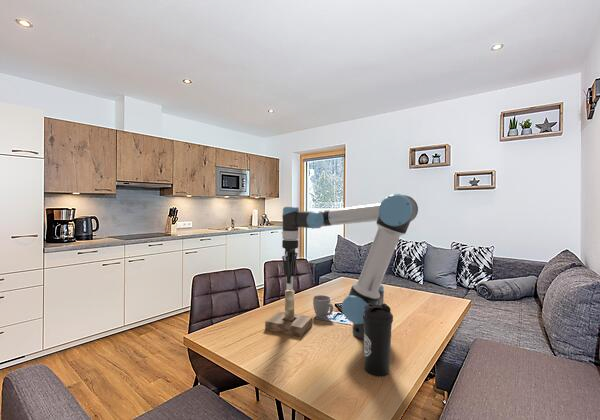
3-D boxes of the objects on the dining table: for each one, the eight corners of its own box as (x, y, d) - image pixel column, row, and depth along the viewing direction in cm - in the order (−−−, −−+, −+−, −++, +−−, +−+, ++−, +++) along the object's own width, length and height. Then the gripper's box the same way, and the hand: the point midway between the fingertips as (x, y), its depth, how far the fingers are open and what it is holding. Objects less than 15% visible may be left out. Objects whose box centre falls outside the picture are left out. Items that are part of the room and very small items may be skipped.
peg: (295, 324, 143) (296, 290, 142) (291, 327, 138) (292, 292, 138) (286, 322, 144) (287, 289, 144) (282, 325, 140) (283, 291, 140)
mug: (309, 315, 156) (309, 297, 156) (321, 311, 162) (321, 294, 162) (326, 322, 148) (326, 303, 147) (338, 318, 153) (338, 299, 153)
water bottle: (358, 362, 111) (359, 300, 110) (385, 361, 111) (386, 300, 111) (367, 378, 100) (368, 310, 100) (396, 377, 101) (397, 309, 101)
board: (312, 324, 145) (312, 316, 144) (301, 336, 132) (301, 327, 131) (278, 319, 151) (278, 311, 151) (265, 329, 138) (265, 321, 138)
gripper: (288, 237, 148) (288, 285, 148) (276, 240, 136) (276, 292, 136) (302, 238, 145) (302, 287, 146) (292, 241, 133) (291, 294, 134)
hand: (289, 289), depth 141 cm, fingers closed
